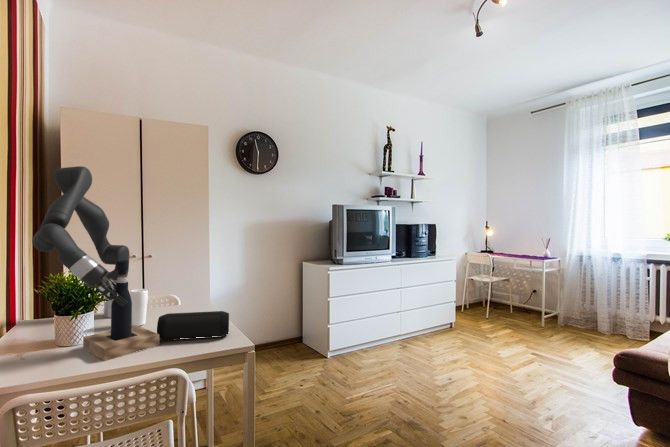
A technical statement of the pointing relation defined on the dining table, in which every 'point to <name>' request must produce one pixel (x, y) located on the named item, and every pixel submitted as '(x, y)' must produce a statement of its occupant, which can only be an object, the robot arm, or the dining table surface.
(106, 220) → the robot arm
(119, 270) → the black bottle
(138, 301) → the drinking glass
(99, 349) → the walnut jig
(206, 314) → the portable speaker
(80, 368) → the dining table surface
